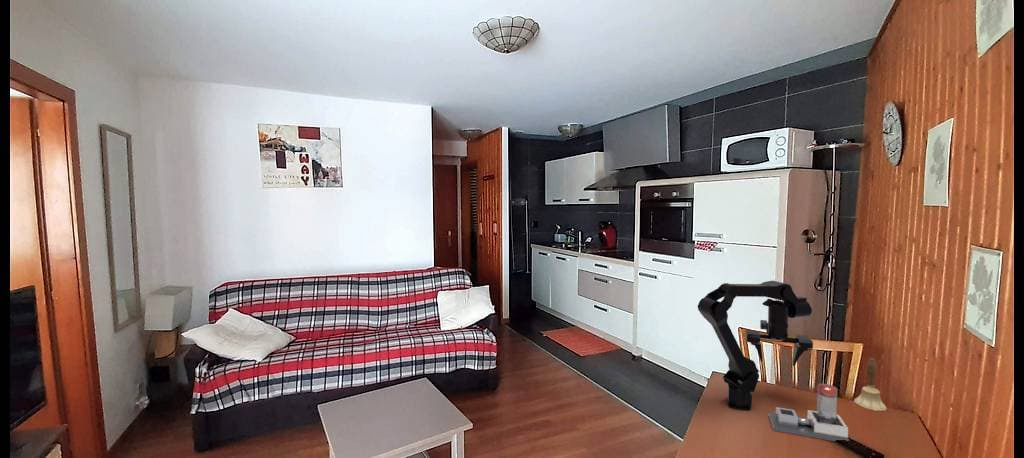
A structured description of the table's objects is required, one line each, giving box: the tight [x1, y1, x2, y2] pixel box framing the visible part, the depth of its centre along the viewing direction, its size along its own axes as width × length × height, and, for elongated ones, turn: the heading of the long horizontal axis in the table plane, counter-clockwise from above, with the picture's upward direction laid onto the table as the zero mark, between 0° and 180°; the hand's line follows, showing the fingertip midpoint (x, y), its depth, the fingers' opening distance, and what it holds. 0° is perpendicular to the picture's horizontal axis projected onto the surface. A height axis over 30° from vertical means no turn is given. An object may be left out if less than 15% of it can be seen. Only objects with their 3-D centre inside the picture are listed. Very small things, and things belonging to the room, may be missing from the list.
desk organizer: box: [768, 406, 850, 442], centre depth 122 cm, size 18×9×4 cm, turn 66°
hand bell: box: [853, 357, 888, 412], centre depth 135 cm, size 8×8×16 cm
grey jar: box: [816, 383, 838, 425], centre depth 120 cm, size 5×5×12 cm
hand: (777, 363), depth 139 cm, fingers open, 9 cm apart
